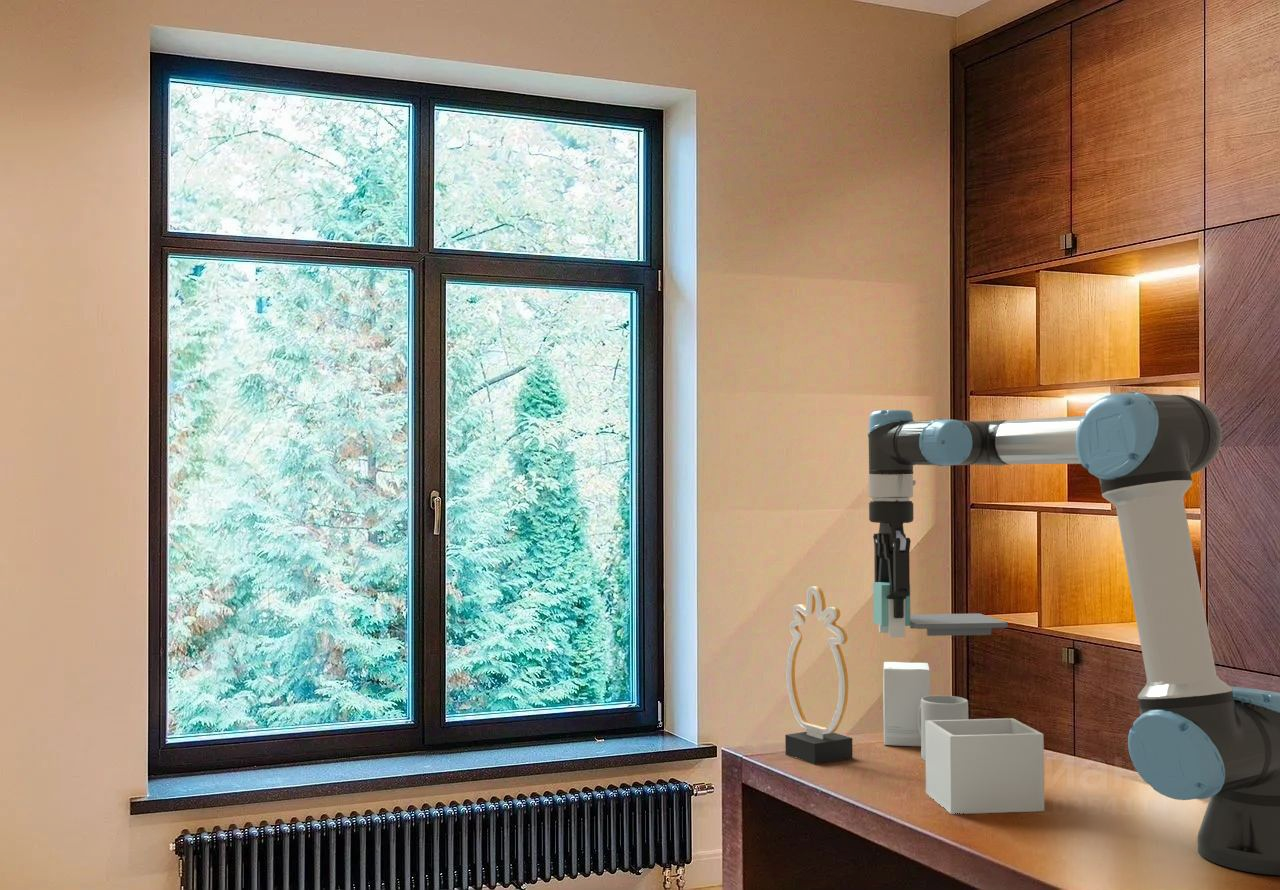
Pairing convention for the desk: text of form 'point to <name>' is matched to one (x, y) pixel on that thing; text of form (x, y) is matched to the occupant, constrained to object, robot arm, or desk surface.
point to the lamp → (821, 740)
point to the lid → (933, 617)
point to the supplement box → (904, 701)
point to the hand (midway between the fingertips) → (891, 634)
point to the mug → (940, 712)
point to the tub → (984, 765)
